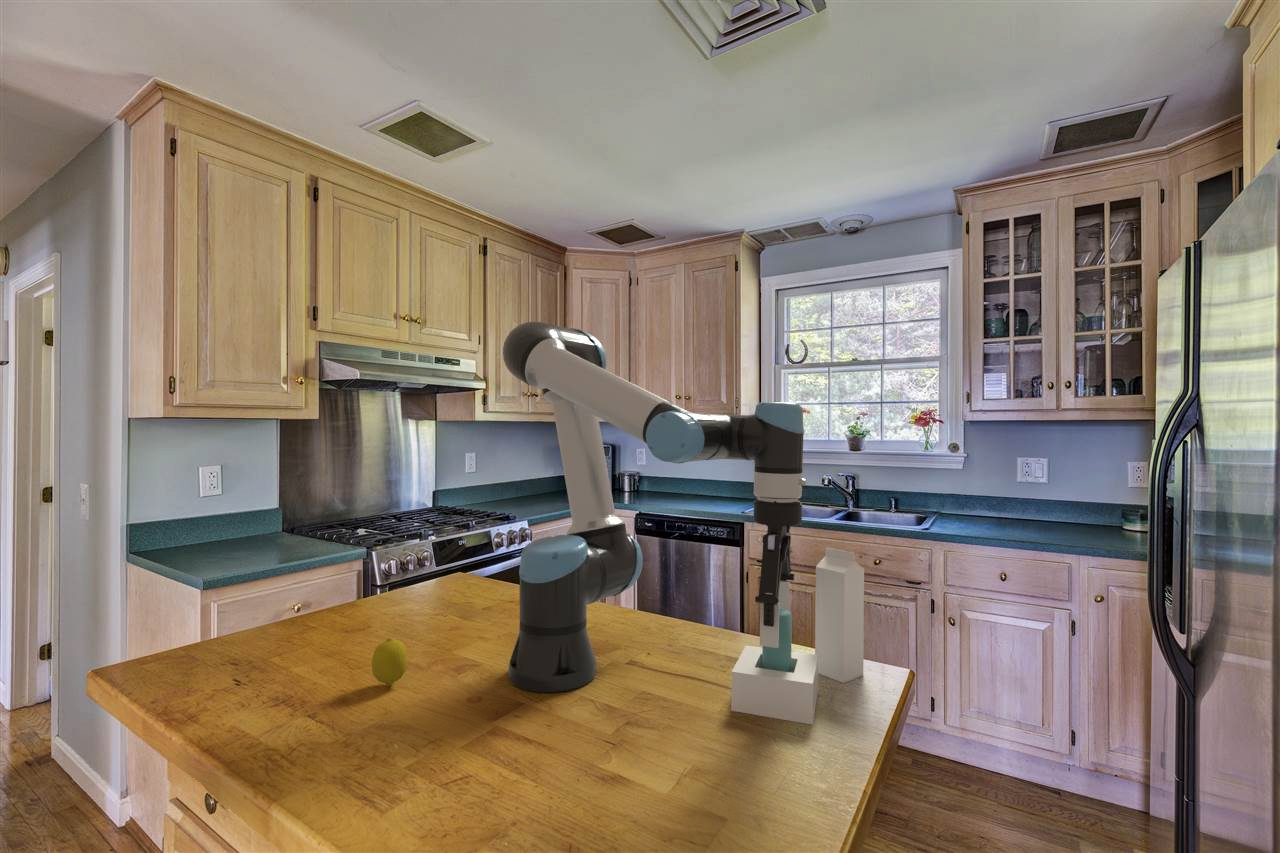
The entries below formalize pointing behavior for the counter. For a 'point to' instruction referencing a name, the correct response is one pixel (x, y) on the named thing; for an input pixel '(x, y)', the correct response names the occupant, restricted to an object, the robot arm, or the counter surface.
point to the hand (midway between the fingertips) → (775, 631)
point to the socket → (775, 687)
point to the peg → (780, 646)
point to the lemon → (389, 661)
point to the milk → (839, 616)
